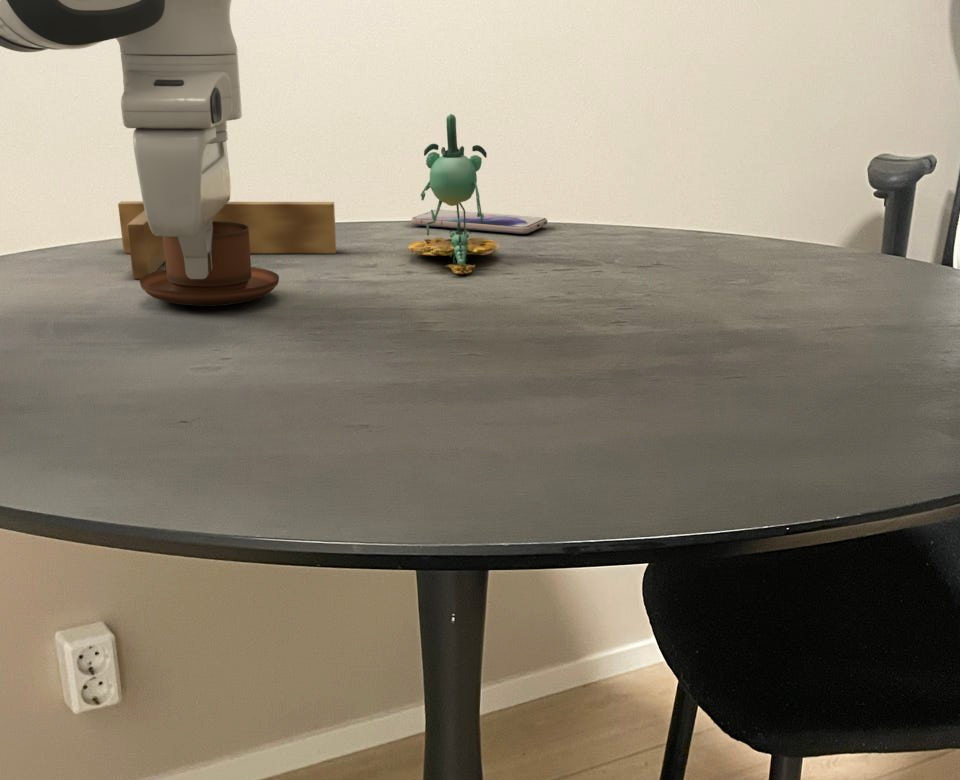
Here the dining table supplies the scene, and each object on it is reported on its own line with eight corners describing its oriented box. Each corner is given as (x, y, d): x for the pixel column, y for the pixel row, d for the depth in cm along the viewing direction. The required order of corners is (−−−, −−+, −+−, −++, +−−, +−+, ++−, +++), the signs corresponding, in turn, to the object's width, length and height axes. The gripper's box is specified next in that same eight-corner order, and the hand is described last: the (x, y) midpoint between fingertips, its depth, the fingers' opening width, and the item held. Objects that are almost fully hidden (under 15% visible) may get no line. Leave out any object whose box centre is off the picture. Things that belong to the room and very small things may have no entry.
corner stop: (95, 279, 118) (88, 224, 116) (126, 251, 131) (120, 201, 129) (329, 279, 119) (327, 224, 117) (336, 251, 133) (334, 201, 130)
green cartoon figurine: (386, 274, 122) (384, 109, 116) (422, 262, 138) (421, 117, 133) (484, 277, 120) (486, 110, 115) (508, 264, 137) (511, 118, 132)
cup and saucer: (117, 297, 111) (108, 225, 108) (235, 281, 118) (229, 213, 115) (184, 321, 103) (177, 244, 100) (306, 302, 110) (303, 229, 107)
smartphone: (527, 227, 142) (409, 218, 147) (526, 236, 142) (409, 226, 148) (549, 217, 148) (435, 208, 153) (549, 225, 148) (435, 216, 153)
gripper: (165, 86, 107) (182, 253, 113) (115, 103, 88) (137, 302, 95) (240, 87, 107) (252, 253, 113) (205, 104, 89) (221, 301, 95)
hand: (199, 276), depth 104 cm, fingers closed
